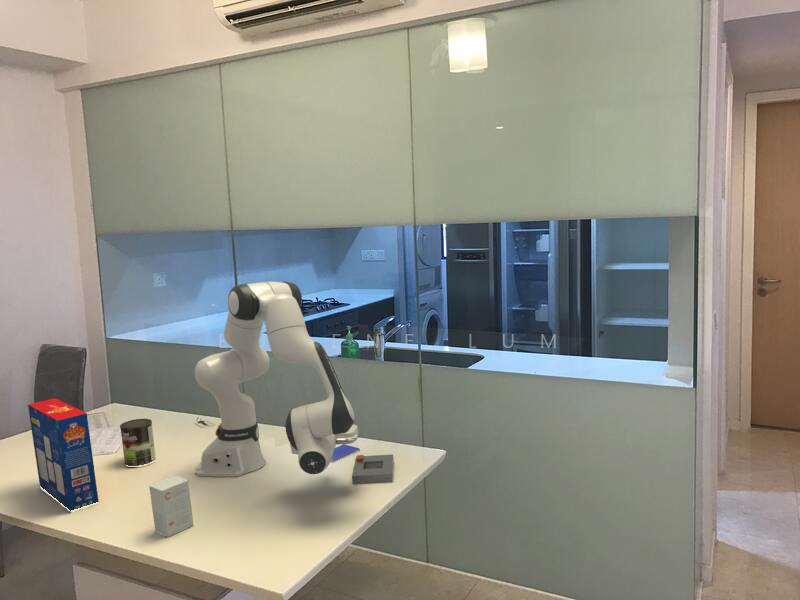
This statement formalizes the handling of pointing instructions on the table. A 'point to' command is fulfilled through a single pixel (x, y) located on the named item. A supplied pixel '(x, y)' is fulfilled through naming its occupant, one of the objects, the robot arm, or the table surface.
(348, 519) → the table surface
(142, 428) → the coffee can
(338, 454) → the hard drive
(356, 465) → the socket plate
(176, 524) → the small box
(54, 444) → the blue cereal box
